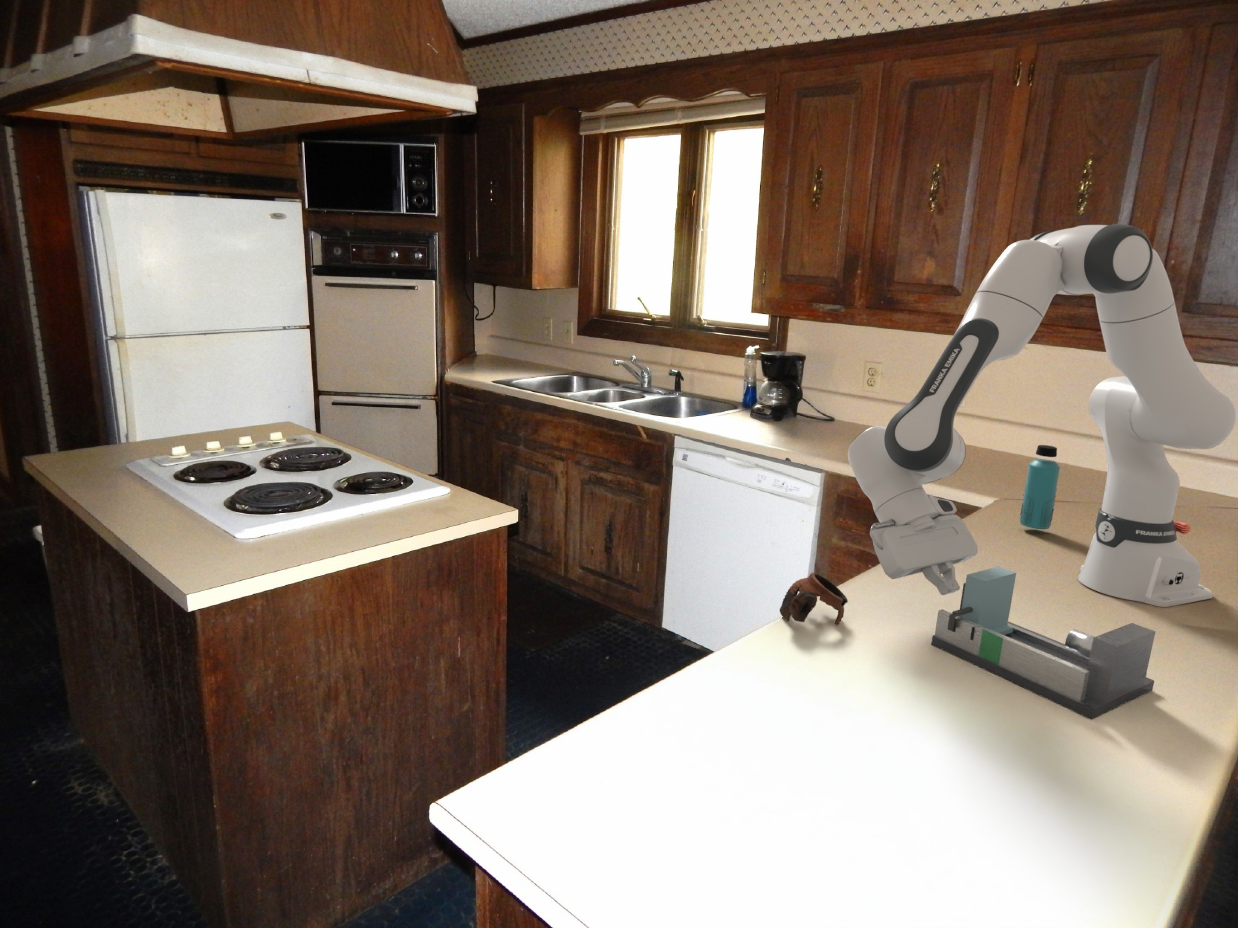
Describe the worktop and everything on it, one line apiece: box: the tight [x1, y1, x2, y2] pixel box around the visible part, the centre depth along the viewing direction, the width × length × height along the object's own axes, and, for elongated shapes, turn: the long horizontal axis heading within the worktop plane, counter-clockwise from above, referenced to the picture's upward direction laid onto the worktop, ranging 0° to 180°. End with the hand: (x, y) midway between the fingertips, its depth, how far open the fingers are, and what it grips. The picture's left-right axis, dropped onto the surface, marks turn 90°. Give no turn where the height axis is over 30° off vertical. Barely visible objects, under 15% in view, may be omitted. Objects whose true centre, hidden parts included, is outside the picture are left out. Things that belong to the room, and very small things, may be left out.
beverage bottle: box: [1019, 444, 1061, 530], centre depth 181 cm, size 6×7×20 cm
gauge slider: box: [948, 566, 1017, 635], centre depth 121 cm, size 5×13×9 cm, turn 123°
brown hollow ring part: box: [779, 572, 849, 626], centre depth 128 cm, size 12×10×8 cm
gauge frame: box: [931, 609, 1156, 721], centre depth 116 cm, size 24×16×10 cm, turn 33°
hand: (951, 592), depth 128 cm, fingers closed
